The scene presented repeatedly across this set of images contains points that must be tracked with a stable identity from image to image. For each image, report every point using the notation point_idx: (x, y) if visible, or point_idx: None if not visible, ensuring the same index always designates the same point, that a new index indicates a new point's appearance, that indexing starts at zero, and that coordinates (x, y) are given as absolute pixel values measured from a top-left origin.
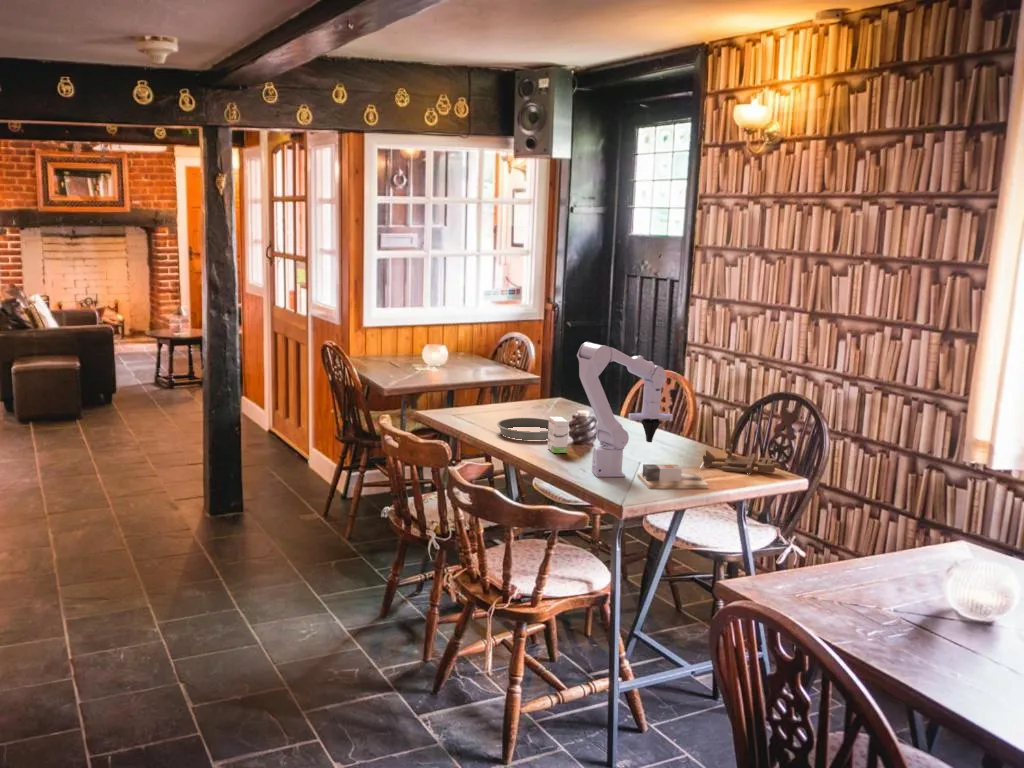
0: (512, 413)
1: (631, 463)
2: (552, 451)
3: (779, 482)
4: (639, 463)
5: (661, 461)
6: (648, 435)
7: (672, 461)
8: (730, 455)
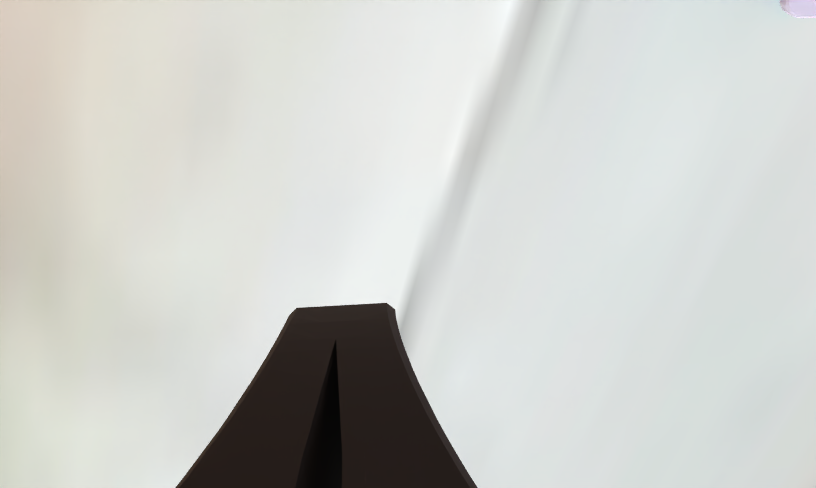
0: None
1: (485, 339)
2: None
3: None
4: None
5: (141, 425)
6: (406, 408)
7: (23, 434)
8: None
